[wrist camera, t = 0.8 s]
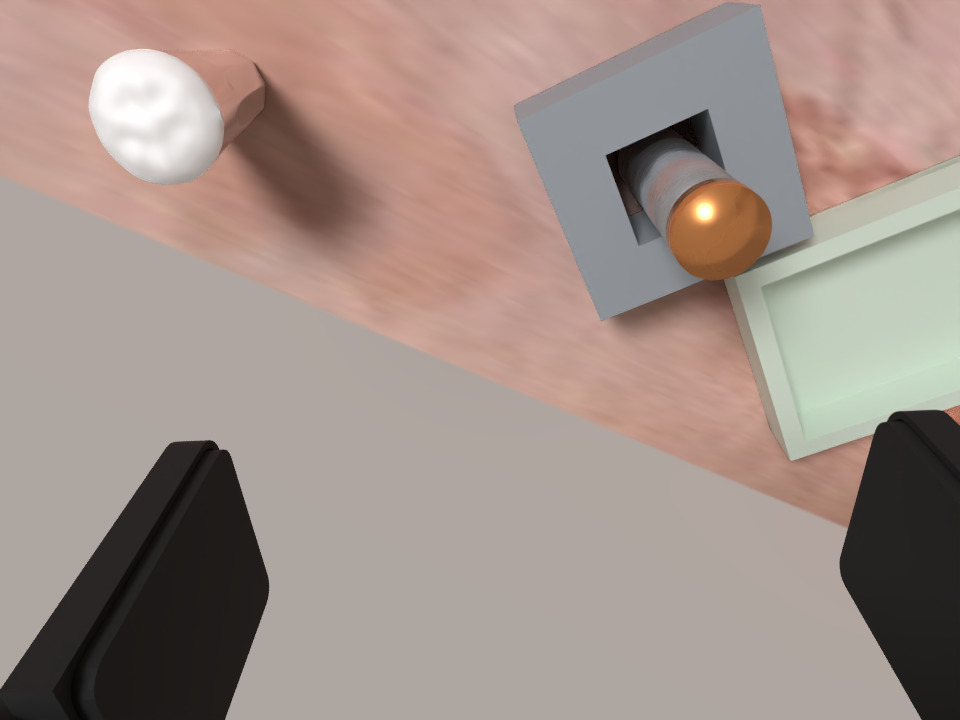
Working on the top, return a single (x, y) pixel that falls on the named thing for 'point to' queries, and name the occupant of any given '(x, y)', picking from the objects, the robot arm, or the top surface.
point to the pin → (696, 205)
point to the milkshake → (173, 109)
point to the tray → (858, 314)
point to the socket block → (646, 110)
